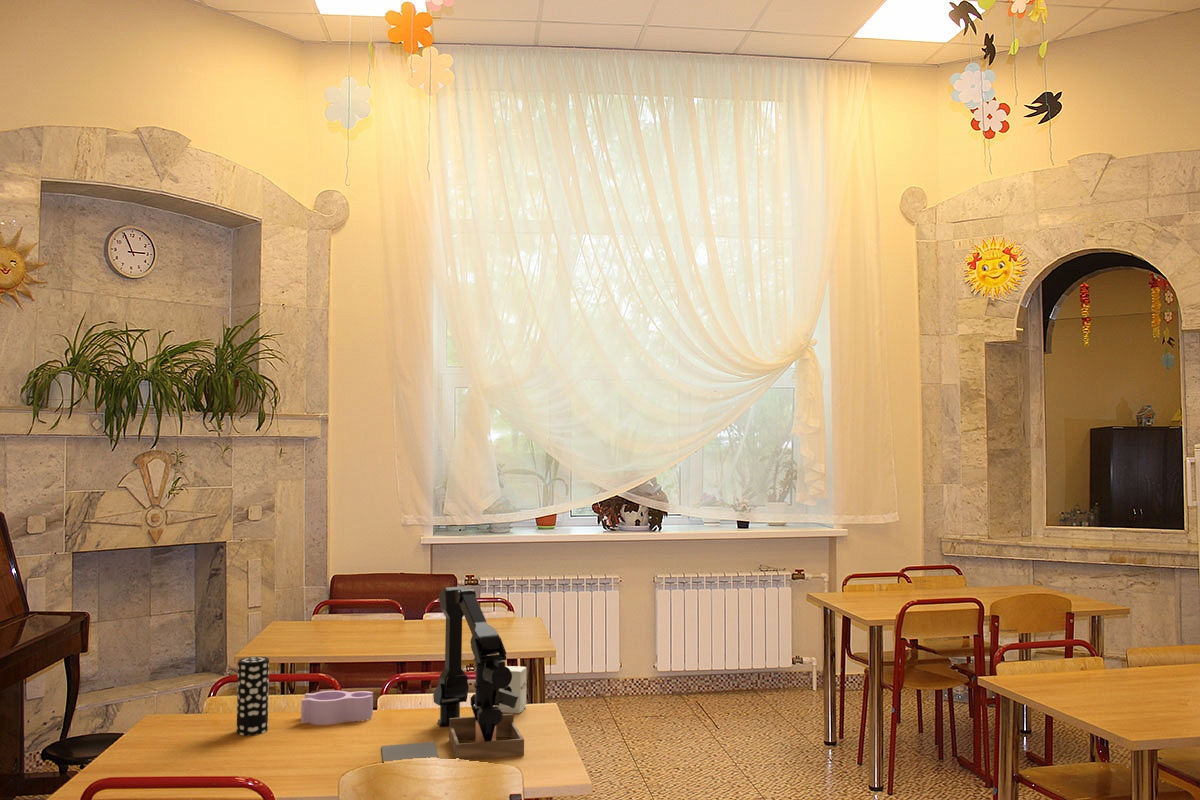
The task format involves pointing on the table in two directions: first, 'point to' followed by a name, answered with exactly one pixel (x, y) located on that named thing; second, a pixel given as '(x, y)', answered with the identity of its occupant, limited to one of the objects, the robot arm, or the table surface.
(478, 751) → the frame
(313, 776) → the table surface
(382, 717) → the table surface
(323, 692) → the lavender two-hole holder
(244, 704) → the white-spotted black cylinder
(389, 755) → the mat
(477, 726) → the terracotta pot
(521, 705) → the supplement box
